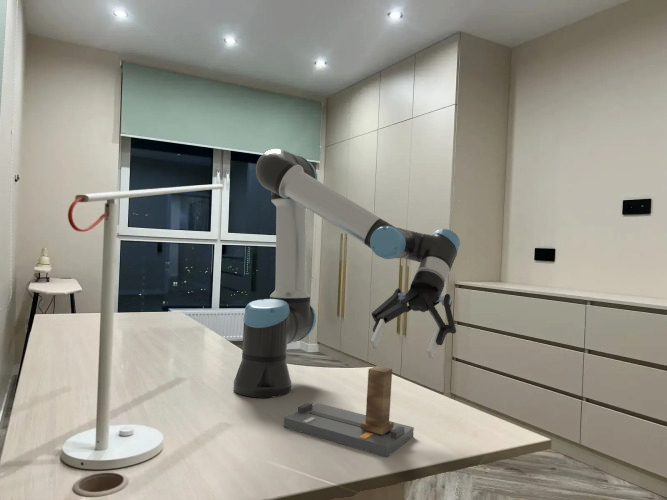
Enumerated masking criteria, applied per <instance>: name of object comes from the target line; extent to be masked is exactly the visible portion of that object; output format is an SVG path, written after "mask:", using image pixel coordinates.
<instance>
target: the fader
mask: <svg viewBox="0 0 667 500" xmlns="http://www.w3.org/2000/svg"><path fill="white" fill-rule="evenodd" d="M367 372H368V374H367V390H366V405H365V406H366V410H365V415H366V420H365V421H364V422H362V423H361V428H360V429H362V430H366V431H370V432H373V433H377V434H381V435H384V434H385V433H386V432H388V431H389V430H391V429H392V428H393V425H394V421H392V420H391V421H392V422H391V421H390V417H391V416H390V414H391V413H390V412H391V396H392V379H393V378H392V377H393V368H391V367H390V368H388V367H384V366H379V365H376V366H373V367H370V368H368V370H367Z"/></svg>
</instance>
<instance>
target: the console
mask: <svg viewBox="0 0 667 500" xmlns="http://www.w3.org/2000/svg"><path fill="white" fill-rule="evenodd" d="M365 420H366V414H364V413H359V412H355V411H351V410H346V409H343V408H339V407H335V406H331V405H326V404H322V403H319V402H317V403H315V404H313V403H311V402H307V403H304V404H302V405H299V406H297V412H294V413H292V414H290V415H288V416H285V417H284V423H283V426H284V427H283V428H286V429H290V430H294V431H296V432H300V433H303V434H307V435H310V436H312V437H317V438H320V439H323V440H327V441H330V442H333V443H338V444H341V445H345V446H347V447H351V448H354V449H358V450H361V451H365V452H368V453H371V454H373V455H374V454H375V455H378V456H381V457H384V458H388V457H389V456H390V455H391V454H393V453H394V452H395V451H397V450H398V449H399V448H400V447H401V446H403V445H405V444H406V443H407V442H408V441H410V440H411V439H413V438H414V429H415V427H414V426H410V425H406V424H402V423H399V422H394V421H392V420H391V422H394V425H393V428H392V429H391V430H389V431H388V432H386V433H385V434H384V435H381V434H377V433H373V432H370V431H366V430H362V429H360V428H361V423H362V422H364V421H365Z"/></svg>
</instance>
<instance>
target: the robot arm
mask: <svg viewBox="0 0 667 500" xmlns="http://www.w3.org/2000/svg"><path fill="white" fill-rule="evenodd" d="M255 176H256V179H257V181H258V182H259V184H260V185H261V186H262V187H263V188H265V189H266V190H268V191H270V193H271V194H270V196H271V197H270V198H271V200H270V201H271V203H272V204H273V205H274V206H275V208H276V209H275V210H276V211H275V212H276V216H275V217H276V218H275V224H276V226H275V285H274V287H275V289H274V291H273V292H272V293H271V294H270V295H269V298H264V299H257V300H253V301H250V302H249V303H247V305H246V306H245V308H244V315H243V318H242V319H243V328H242V329H243V332H242V352H241V355H242V356H241V362H240V364H239V366H238V369H237V372H236V375H235V377H234V379H233V391H234V392H235V393H236V394H238V395H241V396H244V397H250V398H261V399H262V398H263V399H264V398H265V399H267V398H276V397H283V396H286V395H288V394H289V393H291V391H292V380H291V377H290V372H289V368H288V364H287V351H288V348H287V347H288V345H289V344H292V343H297V342H299V341H302V340H304V339H305V338H306V337H308V336H309V335H310V334H311V333H312V331H313V330H314V328H315V325H316V319H317V317H316V312H315V309H314V307H312V305H311V295H310V294H309V293H308V292H307V290H306V239H307V235H306V234H307V233H306V230H307V229H306V228H307V217H306V216H307V209H308V211H311V212H312V213H314V214H316V215H317V216H319V217H320V218H322V219H324V220H325V221H326V222H328V223H330V224H331V225H333V226H335V227H336V228H338V229H339V230H341V231H343V232H345V233H346V234H347V235H349V236H351V237H353V238H354V239H356V240H357V241H359V242H360V243H362V244H363V245H365V246H367V247H368V248H370V249H371V250H372V252H373V253H374V254H375V255H376V256H377V257H379V258H382V259H384V260H392V259H405V260H409V261H412V262H413V261H414V262H417V263H419V266H418V268H417V270H416V271H415V275H414V276H413V279H412V281H411V284H410V287H409V290H408V291H402V290H401V288H396V289H395V290H394V292H393V293H392V295H390V297H388V298H387V299H386V300H385V301H384V302H382V303H381V304H380V305H379V306H378V307H377V308H376V309H375V310H373V311H372V312H371V316H372V319H373V321H374V322H375V323H374V325H373V327H372V332H373V334H372V335H371V339H370V342H369V343H370V344H371V345H372V349H375V350H376V349H378V347H379V344H380V342H381V340H382V337H383V335H384V334H385V333H384V332H385V331H386V329H387V324H388V323H389V322H391V321H392V320H394V319H395V318H397V317H399V316H401V315H402V314H404V313H408V312H410V311H413V312H418V311H420V312H422V313H426V312H429V313H430V316H432V318H433V320H434V321H435V323H436V325H437V326H436V327H435V329H434V331H433V334H432V338H431V340H430V343H429V345H428V348H427V350H426V352H427V354H428V358H429V359H431V360H434V357H435V354H436V352H437V348H438V346H442V345H443V344H444V341H445V339H446V336H447V335H448V334H449V333H451V334H456V333H457V329H456V324H455V320H454V317H453V316H454V315H453V313H452V308H451V307H452V304H453V302H452V298H451V296H450V295H451V294H450V293H446V294H444V296H443V295H442V293H443V291H444V287H445V285H446V283H447V280H448V277H449V275H450V271H451V269H452V267H453V264H454V263H455V259H456V257H457V255H458V251H459V248H460V244H461V241H460V238H459V236H458V234H456V232H454V231H453V230H451V229H448V228H441V229H437V230H435V231H434V232H433V233H432V234H426V233H420V232H418V231H417V232H416V231H413V230H408V229H404V228H401V227H396V226H395V225H393V224H391V223H390V222H388V221H386V220H384V219H382V218H381V217H379V216H377V214H374V213H372V212H371V211H369V210H367V209H366V208H364V207H362V206H360V205H359V204H357V203H355V202H354V201H352V200H351V199H349V198H347V197H346V196H344V195H343V194H341V193H339V192H338V191H336V190H334V189H332V188H331V187H329V186H327V185H326V184H324V183H322V182H321V181H319V180H318V173H317V170H316V168H315V167H314V165H313V164H312V163H311V162H310V161H309V160H307V158H305V157H303V156H300V155H296V154H295V153H294V154H293V153H291V152H289V151H287V150H284V149H280V148H273V149H269V150H267V151H266V152H264V153H262V155H261V156H260V157H259V158H258V160H257V162H256V166H255ZM441 295H442V296H441ZM407 303H408V304H407ZM440 303H441V305H442V306H443V307H444V312H445V315H446V319H447V324H446V323H445V322H444V320H443V318H442V317H441V315H440V314H439V312H438V310H437V308H436V306H437V305H438V304H440Z"/></svg>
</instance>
